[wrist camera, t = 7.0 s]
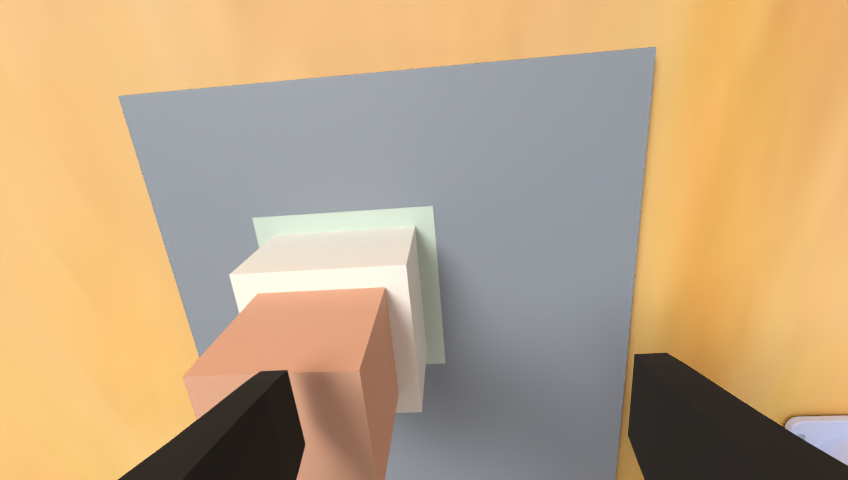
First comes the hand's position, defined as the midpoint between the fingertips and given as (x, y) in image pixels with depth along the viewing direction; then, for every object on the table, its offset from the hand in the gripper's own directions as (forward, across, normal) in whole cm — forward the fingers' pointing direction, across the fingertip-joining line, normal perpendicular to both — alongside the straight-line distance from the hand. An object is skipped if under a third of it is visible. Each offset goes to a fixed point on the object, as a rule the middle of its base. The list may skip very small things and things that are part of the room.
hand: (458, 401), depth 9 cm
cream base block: (+9, +5, +2) cm, 11 cm away
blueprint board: (+10, +3, +5) cm, 12 cm away
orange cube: (+5, +5, +2) cm, 7 cm away
